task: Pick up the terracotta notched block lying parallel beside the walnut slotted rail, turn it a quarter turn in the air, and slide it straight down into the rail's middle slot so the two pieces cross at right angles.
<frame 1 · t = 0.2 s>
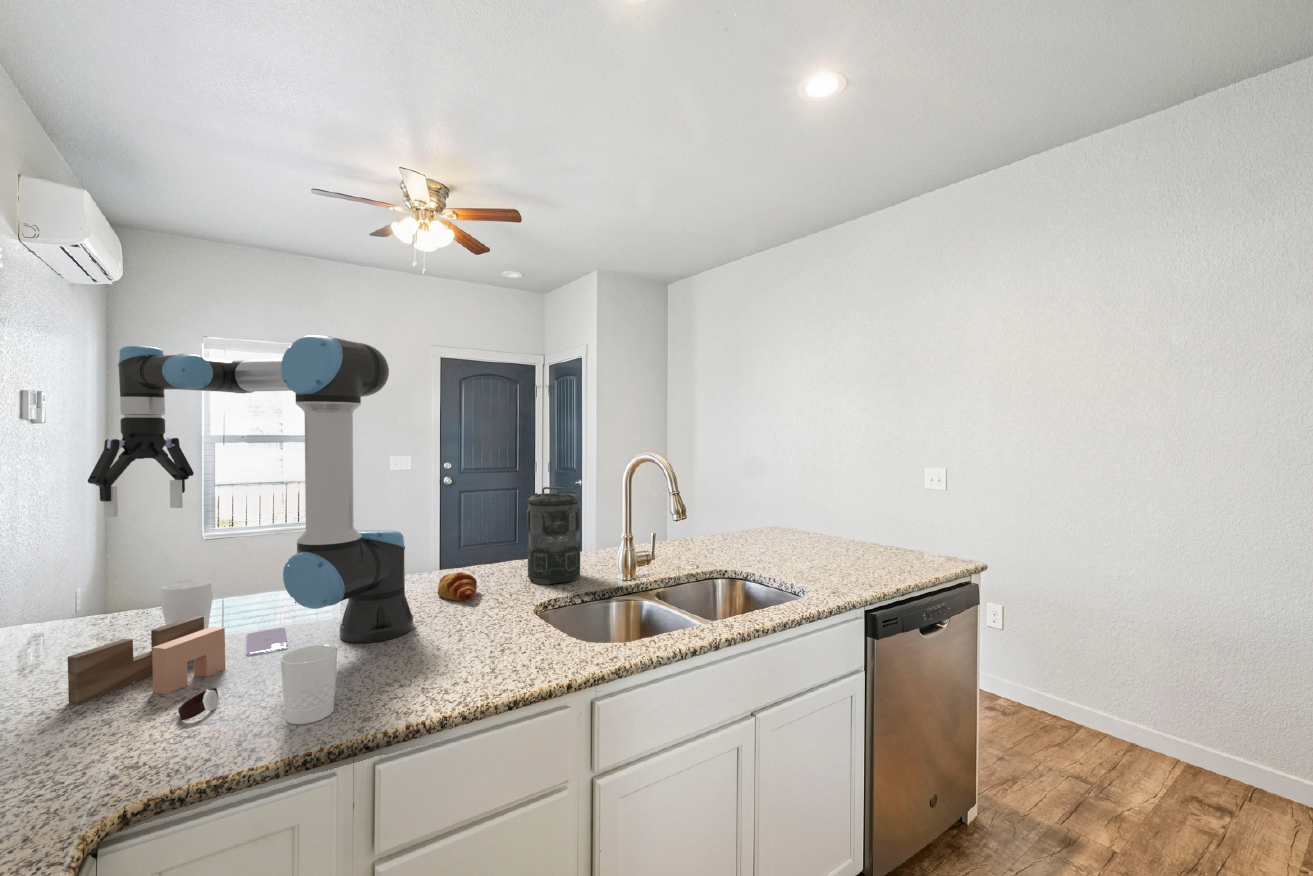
hand: (145, 512, 132), 28 cm above the worktop, tool pointing down, fingers open, 13 cm apart
notched block: (190, 680, 109), on the worktop
slotted rail: (143, 677, 111), on the worktop
croissant: (458, 596, 163), on the worktop
canister: (554, 579, 181), on the worktop
watch: (199, 713, 97), on the worktop
mobile phone: (267, 644, 128), on the worktop
white cup: (310, 715, 96), on the worktop
cup: (188, 639, 131), on the worktop
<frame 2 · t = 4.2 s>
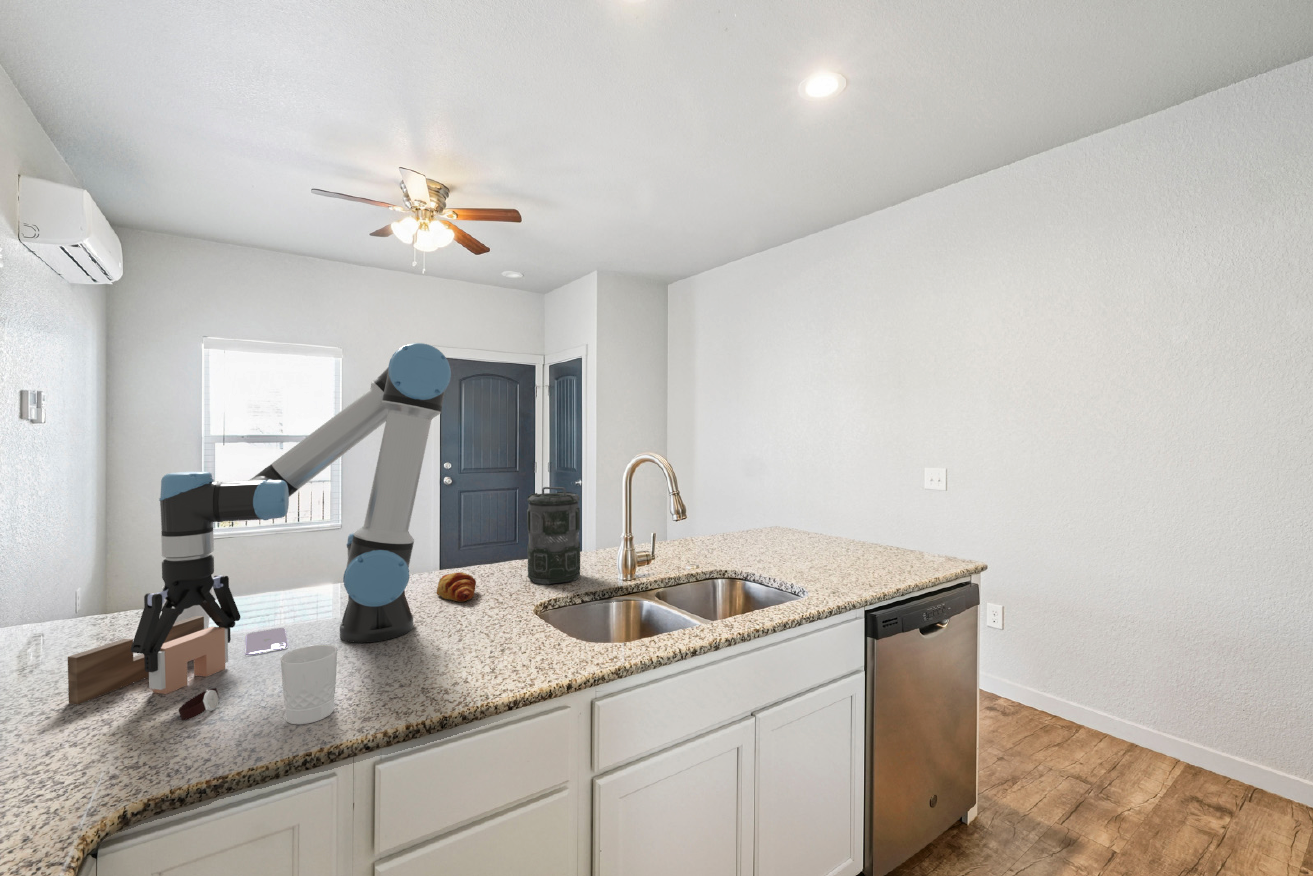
hand: (190, 674, 109), 1 cm above the worktop, tool pointing down, fingers closed on notched block, 11 cm apart
notched block: (190, 680, 109), on the worktop, touching gripper
everything else where it was.
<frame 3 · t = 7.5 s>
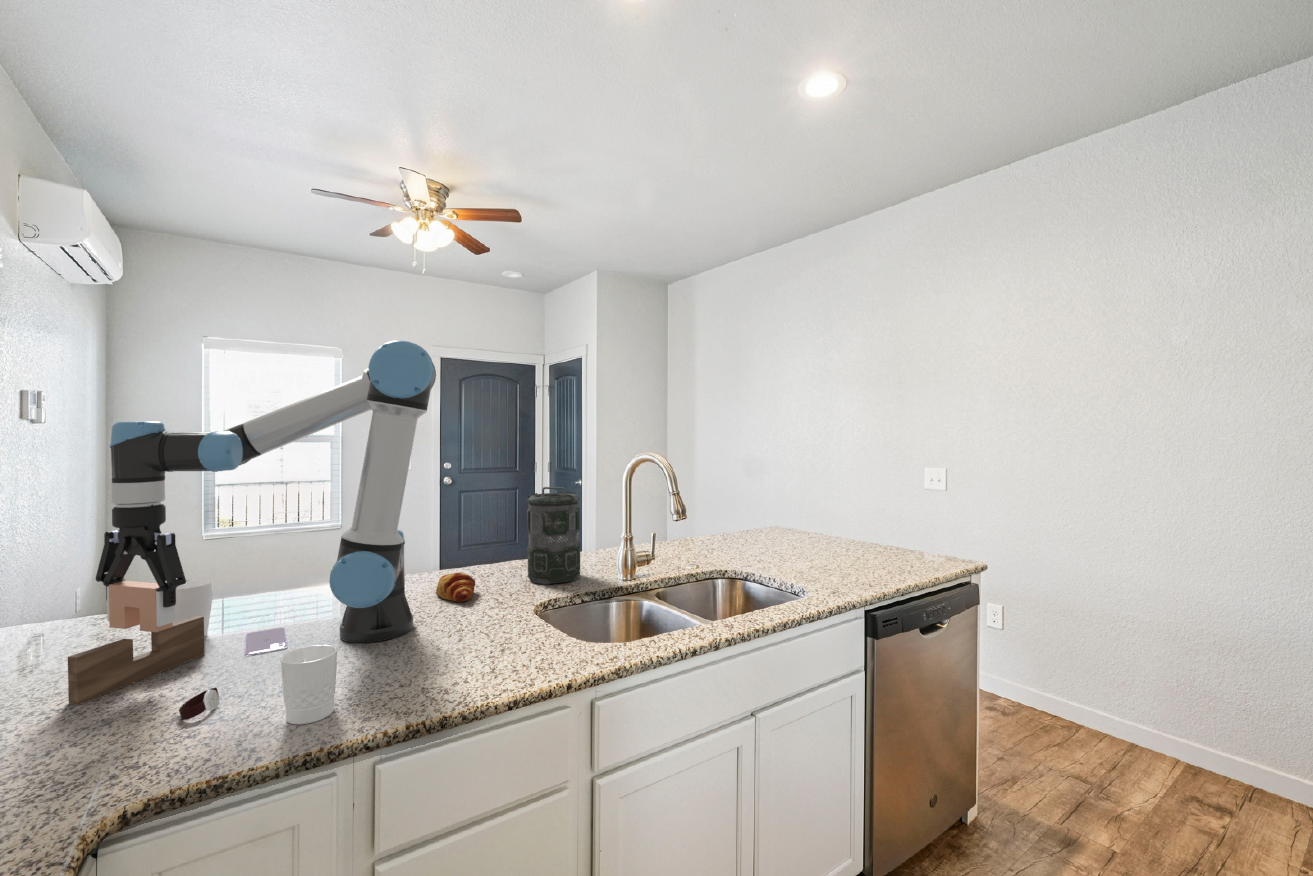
hand: (141, 621, 110), 10 cm above the worktop, tool pointing down, fingers closed on notched block, 11 cm apart
notched block: (141, 627, 110), point 9 cm above the worktop, touching gripper
everything else where it was.
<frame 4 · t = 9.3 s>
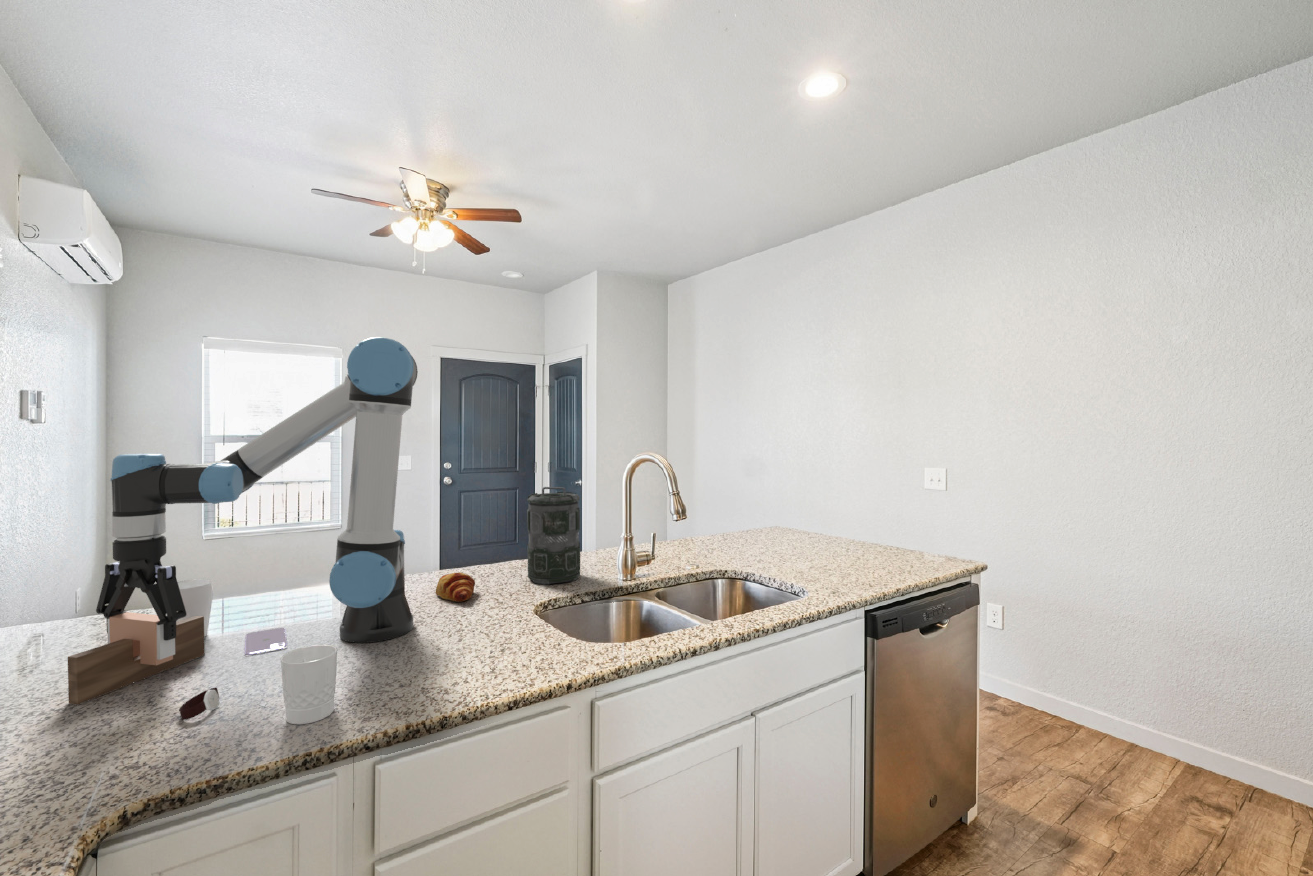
hand: (141, 654, 110), 4 cm above the worktop, tool pointing down, fingers closed on notched block, 11 cm apart
notched block: (141, 659, 110), point 3 cm above the worktop, touching gripper
everything else where it was.
when the fingers open (2 cm above the worktop, at t = 10.9 s): notched block stays where it is, on the worktop.
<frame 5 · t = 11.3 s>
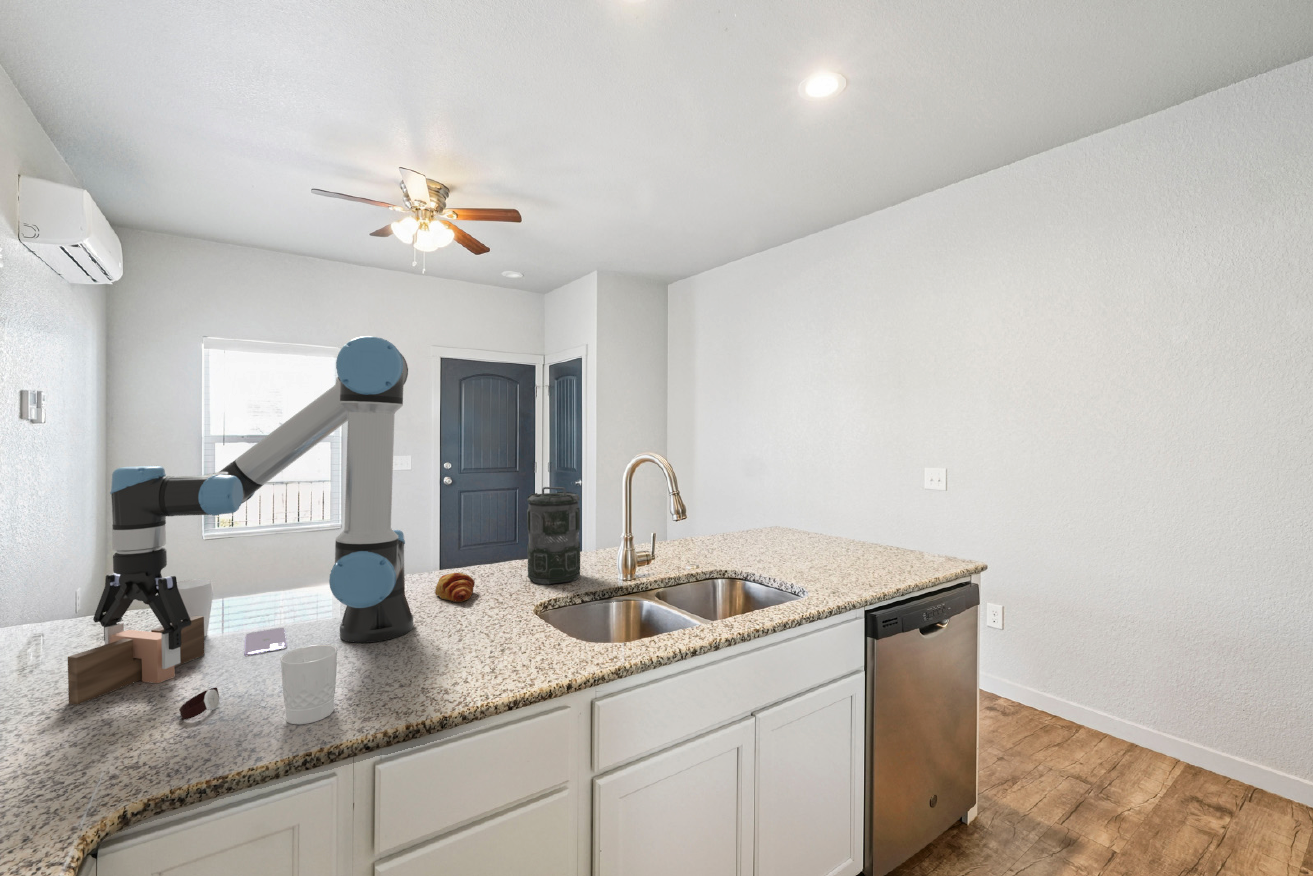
hand: (142, 662, 110), 3 cm above the worktop, tool pointing down, fingers open, 13 cm apart
notched block: (143, 677, 111), on the worktop
everything else where it was.
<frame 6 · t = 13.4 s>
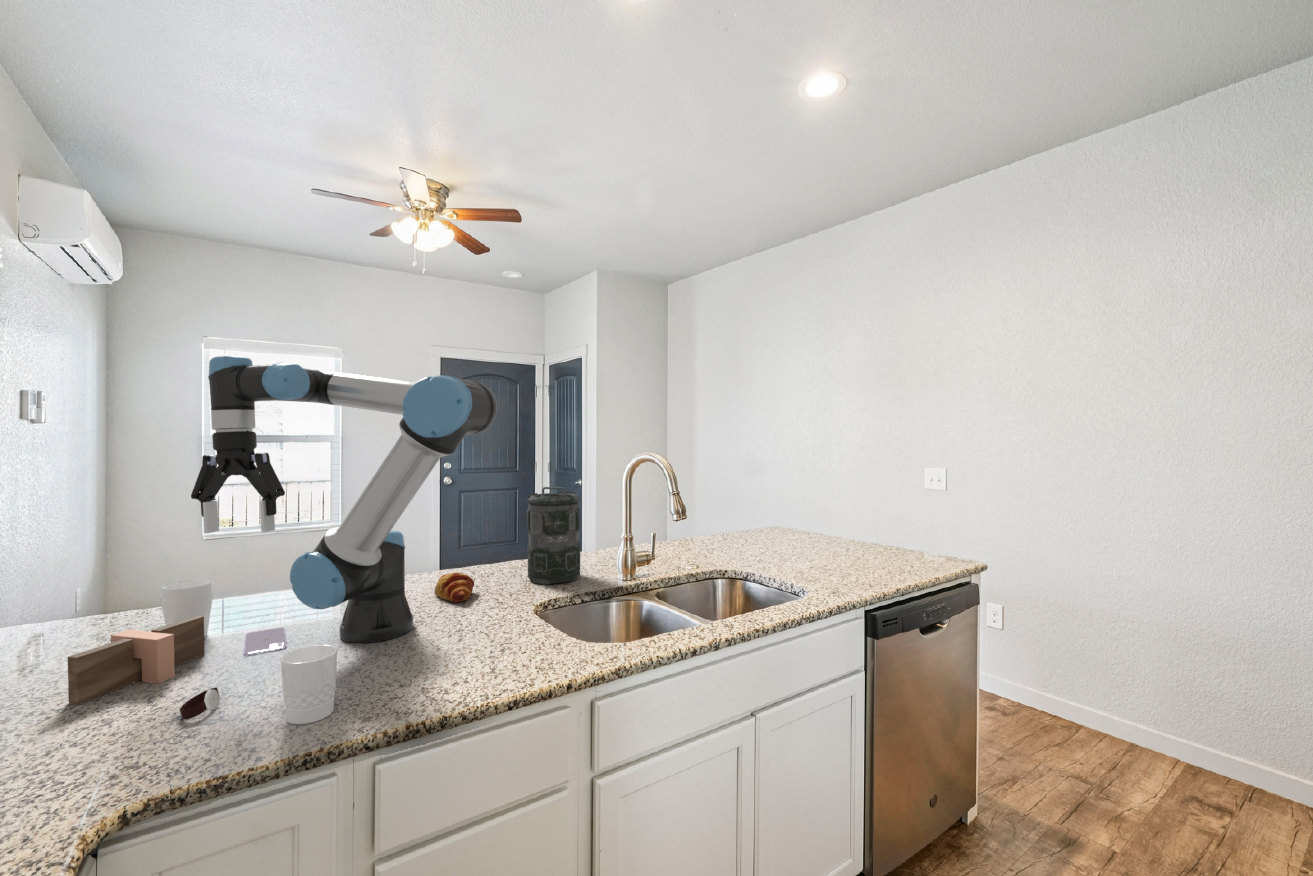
hand: (239, 531, 125), 25 cm above the worktop, tool pointing down, fingers open, 13 cm apart
nothing on the worktop moved.
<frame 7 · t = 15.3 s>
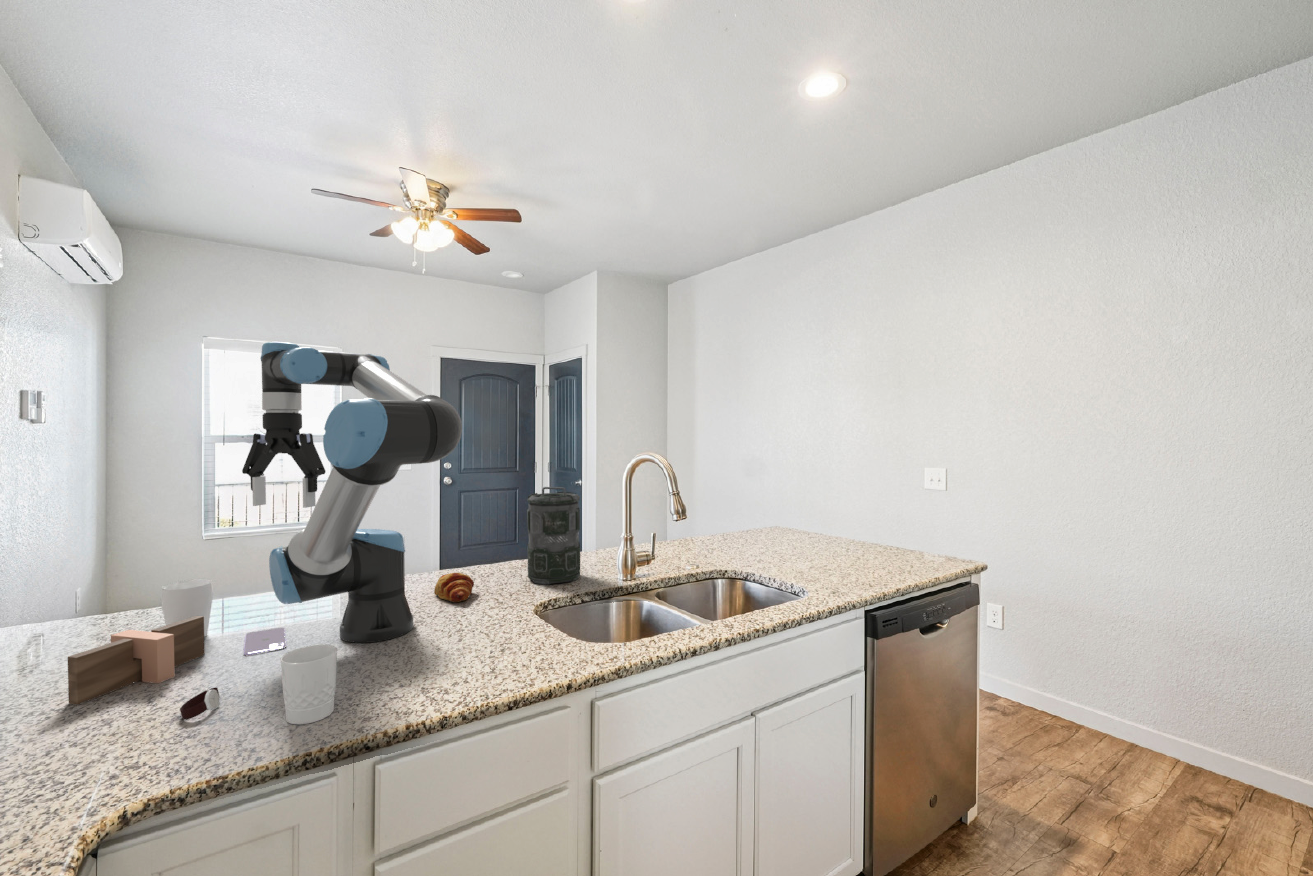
hand: (284, 506, 134), 29 cm above the worktop, tool pointing down, fingers open, 13 cm apart
nothing on the worktop moved.
at the end: notched block 0.0 cm off-centre on the slotted rail, point 0.0 cm above the slotted rail's base; notched block tilted 0°; the gripper is holding nothing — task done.
